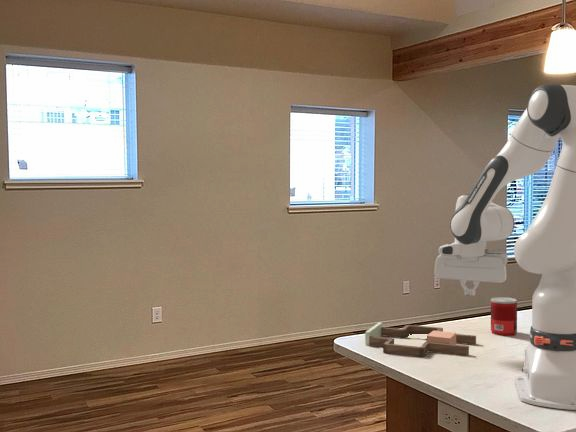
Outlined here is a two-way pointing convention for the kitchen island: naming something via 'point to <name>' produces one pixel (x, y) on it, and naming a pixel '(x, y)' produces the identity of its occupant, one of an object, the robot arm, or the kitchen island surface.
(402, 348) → the box
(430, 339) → the block
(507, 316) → the canned food
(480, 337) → the kitchen island surface
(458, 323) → the kitchen island surface
